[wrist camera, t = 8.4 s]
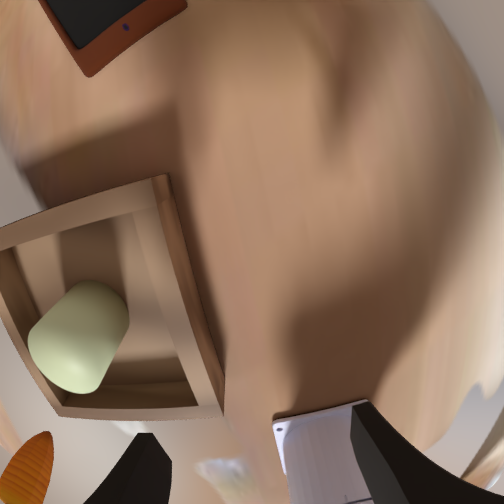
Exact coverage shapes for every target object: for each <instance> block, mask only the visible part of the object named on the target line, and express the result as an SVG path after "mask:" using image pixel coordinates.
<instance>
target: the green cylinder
mask: <svg viewBox="0 0 504 504" xmlns="http://www.w3.org/2000/svg"><path fill="white" fill-rule="evenodd" d="M129 322H130V319H129V312H128V309H127V307H126V304H125V303H124V301H123V299H122V298H121V297H120V296H119V294H118V293H117V292H116V291H115V290H113V289H112V288H111V287H109V286H108V285H106V284H104V283H102V282H99V281H95V280H84V281H81V282H79V283H77V284H76V285H74V286H73V287H72V288H71V289H70V290H69V291H68V292H67V293H66V294H65V295H64V296H63V297H62V298H61V299H60V300H59V301H58V302H57V303H56V304H55V305H54V306H53V307H52V308H51V309H50V310H49V311H48V312H47V313H46V314H45V315H44V316H43V317H42V318H41V319H40V320H39V321H38V322H37V324H36V325H35V326H34V327H33V328H32V329H31V330H30V332H29V335H28V348H29V351H30V354H31V357H32V359H33V361H34V362H35V364H36V366H37V367H38V368H39V370H40V371H41V372H42V373H43V374H44V375H45V376H46V377H47V378H48V379H49V380H50V381H52V382H53V383H54V384H56V385H57V386H59V387H61V388H63V389H65V390H67V391H70V392H73V393H79V394H86V393H90V392H93V391H94V390H96V389H97V388H98V387H99V385H100V383H101V381H102V379H103V377H104V375H105V373H106V371H107V369H108V367H109V365H110V363H111V361H112V359H113V357H114V355H115V353H116V351H117V349H118V348H119V346H120V344H121V342H122V340H123V338H124V336H125V334H126V332H127V330H128V328H129Z"/></svg>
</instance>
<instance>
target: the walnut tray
mask: <svg viewBox="0 0 504 504" xmlns="http://www.w3.org/2000/svg"><path fill="white" fill-rule="evenodd" d="M84 280H95V281H99V282H102V283H104V284H106V285H108V286H109V287H111V288H112V289H113V290H115V291H116V292H117V293H118V294H119V296H120V297H121V298H122V299H123V301H124V303H125V304H126V307H127V309H128V312H129V319H130V322H129V328H128V330H127V332H126V334H125V336H124V338H123V340H122V342H121V344H120V346H119V348H118V349H117V351H116V353H115V355H114V357H113V359H112V361H111V363H110V365H109V367H108V369H107V371H106V373H105V375H104V377H103V379H102V381H101V383H100V385H99V387H98V388H97V389H96V390H94V391H93V392H90V393H86V394H79V393H73V392H70V391H67V390H65V389H63V388H61V387H59V386H57V385H56V384H54V383H53V382H52V381H50V380H49V379H48V378H47V377H46V376H45V375H44V374H43V373H42V372H41V371H40V370H39V368H38V367H37V366H36V364H35V362H34V361H33V359H32V357H31V354H30V351H29V348H28V335H29V332H30V330H31V329H32V328H33V327H34V326H35V325H36V324H37V322H38V321H39V320H40V319H41V318H42V317H43V316H44V315H45V314H46V313H47V312H48V311H49V310H50V309H51V308H52V307H53V306H54V305H55V304H56V303H57V302H58V301H59V300H60V299H61V298H62V297H63V296H64V295H65V294H66V293H67V292H68V291H69V290H70V289H71V288H72V287H73V286H74V285H76V284H77V283H79V282H81V281H84ZM0 317H1V319H2V321H3V324H4V326H5V328H6V329H7V332H8V334H9V336H10V338H11V340H12V342H13V344H14V345H15V347H16V349H17V351H18V353H19V355H20V356H21V358H22V360H23V362H24V363H25V365H26V367H27V369H28V370H29V372H30V374H31V375H32V377H33V379H34V380H35V382H36V383H37V385H38V387H39V388H40V389H41V391H42V393H43V394H44V396H45V397H46V398H47V400H48V402H49V403H50V404H51V406H52V407H53V409H54V410H55V411H56V413H57V414H58V416H61V417H70V418H83V419H95V420H116V421H166V420H187V419H201V418H213V417H223V416H224V393H225V378H224V375H223V372H222V369H221V366H220V363H219V360H218V357H217V353H216V350H215V347H214V344H213V340H212V337H211V334H210V331H209V327H208V324H207V320H206V317H205V314H204V310H203V307H202V303H201V300H200V296H199V293H198V289H197V285H196V282H195V278H194V274H193V271H192V267H191V263H190V259H189V255H188V251H187V248H186V244H185V240H184V236H183V232H182V227H181V223H180V219H179V215H178V211H177V206H176V202H175V198H174V193H173V189H172V184H171V180H170V175H169V173H166V174H162V175H158V176H154V177H150V178H147V179H143V180H139V181H135V182H132V183H128V184H125V185H121V186H118V187H114V188H111V189H108V190H104V191H101V192H98V193H94V194H91V195H88V196H85V197H82V198H79V199H76V200H73V201H70V202H67V203H64V204H61V205H58V206H55V207H52V208H50V209H47V210H44V211H41V212H39V213H36V214H33V215H31V216H28V217H26V218H23V219H20V220H18V221H15V222H13V223H11V224H8V225H5V226H3V227H1V228H0Z"/></svg>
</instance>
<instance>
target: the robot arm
mask: <svg viewBox="0 0 504 504" xmlns="http://www.w3.org/2000/svg"><path fill="white" fill-rule="evenodd" d="M272 427H273V431H274V435H275V439H276V443H277V447H278V451H279V455H280V459H281V463H282V467H283V471H284V474H286V476H287V483H288V490H289V497H290V504H504V496H501V495H498V494H495V493H492V492H490V491H487V490H484V489H482V488H479V487H477V486H475V485H473V484H470V483H468V482H466V481H464V480H462V479H460V478H458V477H456V476H455V475H453V474H451V473H449V472H448V471H446V470H444V469H443V468H442V467H440V466H438V465H437V464H435V463H434V462H433V461H431V460H430V459H428V458H427V457H426V456H425V455H423V454H422V453H421V452H420V451H419V450H417V449H416V448H415V447H414V446H413V445H411V444H410V443H409V442H408V441H407V440H406V439H405V438H404V437H403V436H402V435H401V434H399V433H398V432H397V431H396V430H395V429H394V428H393V427H392V426H391V425H390V424H389V422H388V421H387V420H386V419H385V418H384V417H383V416H382V415H381V414H380V413H379V412H378V410H377V409H376V408H375V407H374V406H373V404H372V403H371V402H369V401H368V400H366V399H364V400H360V401H357V402H353V403H350V404H346V405H342V406H338V407H334V408H330V409H326V410H322V411H317V412H313V413H308V414H303V415H298V416H293V417H288V418H282V419H277V420H275V421H273V422H272ZM171 478H172V461H171V459H170V458H169V456H168V455H167V454H166V452H165V451H164V449H163V448H162V447H161V445H160V444H159V442H158V441H157V439H156V438H155V436H154V435H153V433H138V434H137V435H136V436H135V438H134V439H133V441H132V442H131V444H130V445H129V446H128V448H127V449H126V451H125V452H124V454H123V455H122V457H121V458H120V459H119V461H118V462H117V464H116V465H115V466H114V468H113V469H112V470H111V472H110V473H109V474H108V476H107V477H106V478H105V480H104V481H103V482H102V483H101V484H100V486H99V487H98V488H97V489H96V490H95V492H94V493H93V494H92V495H91V496H90V497H89V498H88V499H87V500H86V501H85V502H84V503H83V504H168V502H169V496H170V489H171Z"/></svg>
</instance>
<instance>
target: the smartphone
mask: <svg viewBox="0 0 504 504" xmlns="http://www.w3.org/2000/svg"><path fill="white" fill-rule="evenodd" d="M38 1H39V3H40V4H41V6H42V8H43V10H44V11H45V13H46V15H47V16H48V18H49V20H50V21H51V23H52V25H53V26H54V28H55V30H56V31H57V33H58V34H59V36H60V38H61V39H62V41H63V43H64V44H65V46H66V47H67V49H68V51H69V52H70V54H71V55H72V57H73V58H74V60H75V62H76V63H77V64H78V66H79V67H80V69H81V70H82V72H83V73H84V75H85V76H86V77H92V76H94V75H95V74H96V73H98V72H99V71H100V70H101V69H102V68H104V67H105V66H106V65H107V64H108V63H110V62H111V61H112V60H113V59H114V58H116V57H117V56H118V55H119V54H121V53H122V52H123V51H125V50H126V49H127V48H129V47H130V46H131V45H133V44H134V43H135V42H137V41H138V40H139V39H141V38H142V37H144V36H145V35H146V34H148V33H149V32H151V31H152V30H154V29H155V28H157V27H158V26H160V25H161V24H163V23H164V22H166V21H167V20H169V19H171V18H172V17H174V16H175V15H177V14H179V13H180V12H182V11H183V10H185V9H186V8H187V2H186V1H185V0H38Z"/></svg>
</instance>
